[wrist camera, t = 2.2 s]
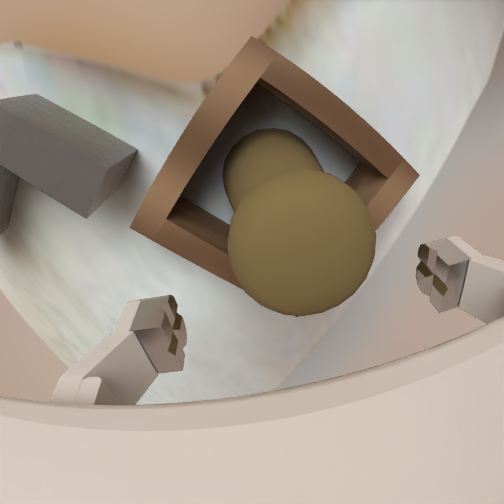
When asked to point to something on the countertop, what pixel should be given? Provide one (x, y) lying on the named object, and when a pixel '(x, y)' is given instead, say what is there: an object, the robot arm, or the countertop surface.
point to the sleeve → (211, 124)
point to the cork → (294, 226)
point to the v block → (57, 156)
